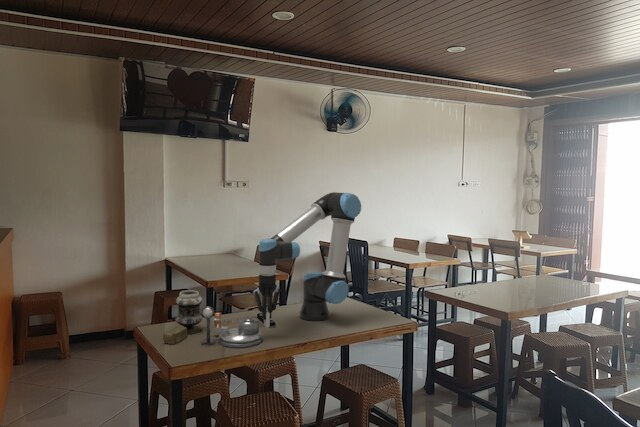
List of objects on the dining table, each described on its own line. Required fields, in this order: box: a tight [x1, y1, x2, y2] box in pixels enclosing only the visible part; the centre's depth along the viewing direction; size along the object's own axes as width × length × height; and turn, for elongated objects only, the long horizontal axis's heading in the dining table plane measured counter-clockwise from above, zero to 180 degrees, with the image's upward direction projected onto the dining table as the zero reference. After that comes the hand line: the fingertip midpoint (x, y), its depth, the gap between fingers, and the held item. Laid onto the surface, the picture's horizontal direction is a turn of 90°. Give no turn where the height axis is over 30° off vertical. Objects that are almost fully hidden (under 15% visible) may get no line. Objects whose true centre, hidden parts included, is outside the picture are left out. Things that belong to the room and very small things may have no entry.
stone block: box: [162, 325, 188, 345], centre depth 211 cm, size 6×12×5 cm, turn 166°
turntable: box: [212, 312, 262, 343], centre depth 212 cm, size 18×22×9 cm
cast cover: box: [237, 317, 260, 335], centre depth 213 cm, size 9×9×6 cm
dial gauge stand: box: [200, 305, 222, 346], centre depth 207 cm, size 8×5×16 cm, turn 89°
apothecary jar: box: [174, 289, 203, 335], centre depth 223 cm, size 12×12×18 cm
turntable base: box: [217, 334, 263, 349], centre depth 212 cm, size 19×19×2 cm
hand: (266, 326), depth 217 cm, fingers closed
